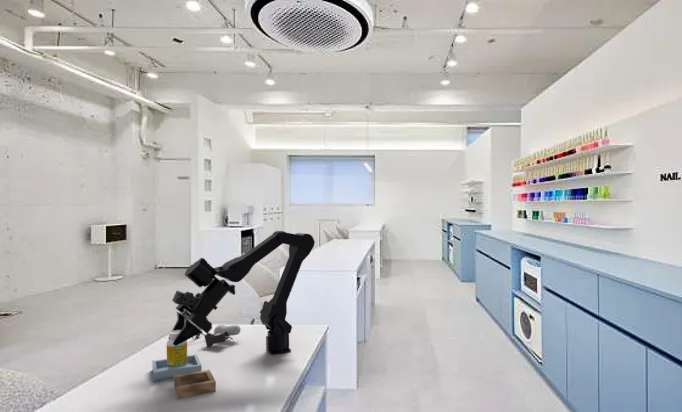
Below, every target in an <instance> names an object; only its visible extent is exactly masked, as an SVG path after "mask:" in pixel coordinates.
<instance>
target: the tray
mask: <svg viewBox="0 0 682 412" xmlns="http://www.w3.org/2000/svg"><path fill="white" fill-rule="evenodd" d="M202 367H203V366H202V362H201V361H200V358H199V356H198V354H190V355H187V366H186V367H181V368H175V369H168V368H167V358H166V359H165V358H164V359H158V360H152V377H153V383H159V382H160V383H161V382H164V381H165V382H166V381H170V380H174V376H175V375H181V374H187V373H193V372H199V371H203V369H202Z"/></svg>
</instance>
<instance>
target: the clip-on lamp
mask: <svg viewBox="0 0 682 412" xmlns="http://www.w3.org/2000/svg"><path fill="white" fill-rule="evenodd" d="M201 331H202V332H203V330H201ZM240 333H241V327H240V325H238V324H233V325H232V324H231V325H225V324H218V325H216V327H214V330H213V333H210V332H208V334H207V333H206V334H205V333H204V332H203V333H202V334H201V333H200V334H198V335H196V336H194V337H192V338H191V339H192V340H194V341H196V340H198V339H199V338H200V336H201V335H202V336H204V340H205V343H206V348H211V347H212V346H213V345H215V344H219V343H221V344H222V343H225V342H227V341H226V340H228V339H230V340H233V339H234V338H233V337H232V336H236V335H239V334H240Z"/></svg>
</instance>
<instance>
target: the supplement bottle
mask: <svg viewBox="0 0 682 412" xmlns="http://www.w3.org/2000/svg"><path fill="white" fill-rule="evenodd" d="M180 331H181V330H174V331H172V330H170V331H169V332H168V338H170V339H168V340H167V341H166V359H167V368H168V369H175V368H181V367H186V366H187V356H188V340H186V341H184V342H182V343H180V344H178V345H176V346H175V345H174V344H173V342H174V340H175V339H176V337H177V336H178V334H179V333H180Z"/></svg>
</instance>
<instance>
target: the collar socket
mask: <svg viewBox="0 0 682 412" xmlns="http://www.w3.org/2000/svg"><path fill="white" fill-rule="evenodd" d="M216 383H217V382H216V379H215V377H214V375H213V373H212V372H211V370H210V369H205V370H202V371H199V372H193V373H187V374H181V375H175V376H174V379H173V387H174V391H175V395H176V399H177V400H179V399H184V398H191V397H197V396H200V395H206V394H211V393H216V392H217V388H216V387H217V386H216Z"/></svg>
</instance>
